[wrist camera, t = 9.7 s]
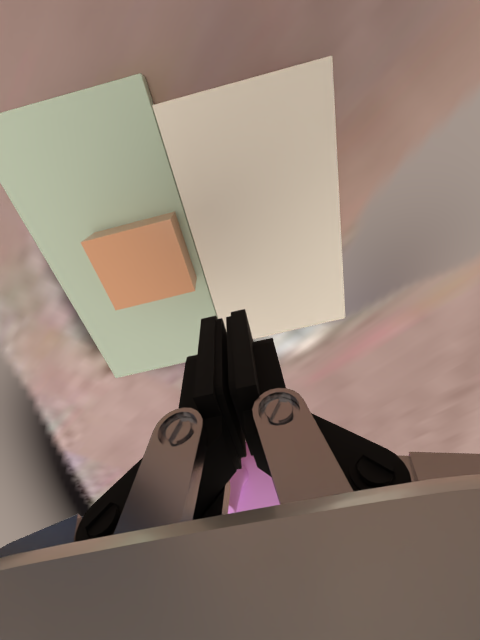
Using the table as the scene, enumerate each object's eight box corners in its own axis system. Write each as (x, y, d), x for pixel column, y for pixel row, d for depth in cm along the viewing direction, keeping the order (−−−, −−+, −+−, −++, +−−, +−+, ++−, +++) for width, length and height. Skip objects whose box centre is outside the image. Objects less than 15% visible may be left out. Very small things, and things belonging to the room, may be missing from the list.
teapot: (279, 400, 38) (308, 516, 26) (282, 504, 51) (303, 614, 39) (162, 414, 38) (138, 538, 26) (195, 515, 51) (189, 629, 39)
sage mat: (145, 77, 21) (140, 73, 20) (227, 344, 33) (227, 352, 32) (-21, 124, 22) (-36, 122, 20) (119, 369, 34) (115, 378, 33)
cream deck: (318, 66, 21) (332, 55, 19) (334, 303, 32) (345, 318, 29) (159, 110, 22) (152, 105, 19) (225, 329, 32) (226, 345, 30)
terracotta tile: (175, 211, 24) (170, 219, 22) (196, 277, 27) (195, 291, 25) (94, 232, 25) (80, 242, 22) (124, 295, 28) (115, 310, 25)
